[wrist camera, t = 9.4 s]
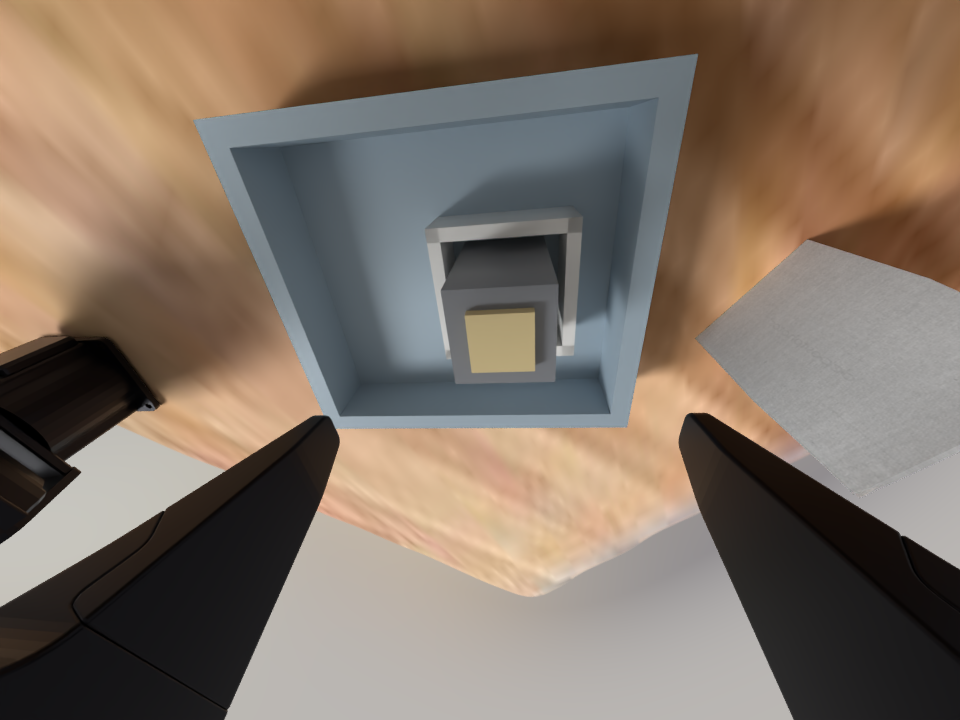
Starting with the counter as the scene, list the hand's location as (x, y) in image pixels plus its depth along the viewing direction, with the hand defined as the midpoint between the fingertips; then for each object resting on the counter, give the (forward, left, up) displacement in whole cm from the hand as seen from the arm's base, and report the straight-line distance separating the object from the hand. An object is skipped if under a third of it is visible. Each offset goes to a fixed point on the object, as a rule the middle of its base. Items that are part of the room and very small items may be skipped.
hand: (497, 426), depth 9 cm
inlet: (0, 0, -12) cm, 12 cm away
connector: (0, 0, -12) cm, 12 cm away
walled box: (0, +3, -12) cm, 13 cm away
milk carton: (-3, -14, -13) cm, 19 cm away
